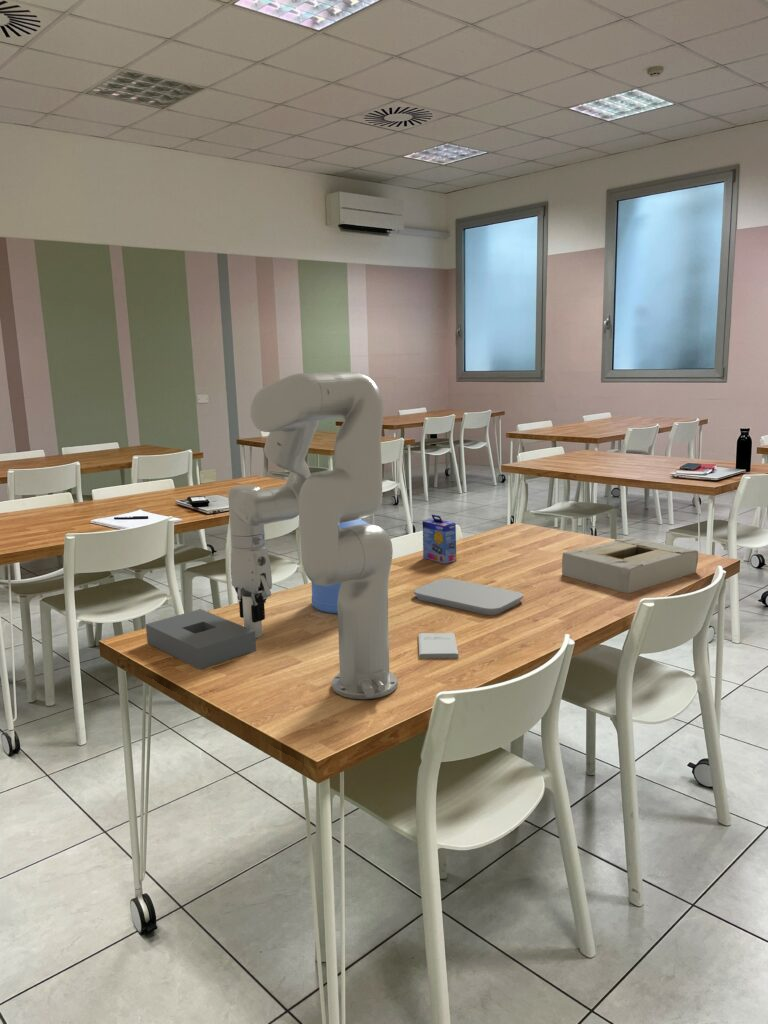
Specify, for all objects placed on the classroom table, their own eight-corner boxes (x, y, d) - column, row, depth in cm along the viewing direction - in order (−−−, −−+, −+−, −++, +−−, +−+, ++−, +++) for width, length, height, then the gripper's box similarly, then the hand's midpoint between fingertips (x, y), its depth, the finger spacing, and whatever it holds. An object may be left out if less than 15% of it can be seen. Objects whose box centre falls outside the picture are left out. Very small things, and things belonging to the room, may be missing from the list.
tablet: (444, 585, 211) (444, 577, 211) (527, 602, 195) (527, 593, 194) (409, 599, 199) (408, 591, 198) (494, 619, 183) (494, 610, 182)
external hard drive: (419, 661, 159) (418, 639, 171) (458, 660, 159) (454, 638, 171) (419, 653, 158) (418, 632, 171) (458, 653, 158) (454, 632, 170)
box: (629, 596, 198) (698, 573, 217) (630, 567, 197) (699, 547, 216) (560, 578, 217) (629, 558, 235) (560, 552, 215) (629, 534, 234)
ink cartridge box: (421, 558, 238) (421, 513, 235) (434, 555, 242) (433, 510, 239) (444, 564, 231) (444, 517, 228) (457, 560, 234) (456, 515, 232)
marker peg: (263, 637, 172) (260, 587, 170) (245, 639, 171) (242, 588, 169) (261, 631, 176) (259, 582, 174) (243, 633, 175) (240, 583, 173)
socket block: (256, 650, 165) (254, 630, 164) (199, 669, 155) (198, 648, 154) (201, 627, 180) (200, 609, 179) (147, 643, 170) (145, 624, 170)
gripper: (284, 543, 166) (288, 622, 170) (240, 532, 178) (245, 606, 181) (256, 549, 161) (260, 631, 165) (213, 538, 173) (218, 614, 176)
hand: (252, 617), depth 173 cm, fingers closed on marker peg, 4 cm apart
